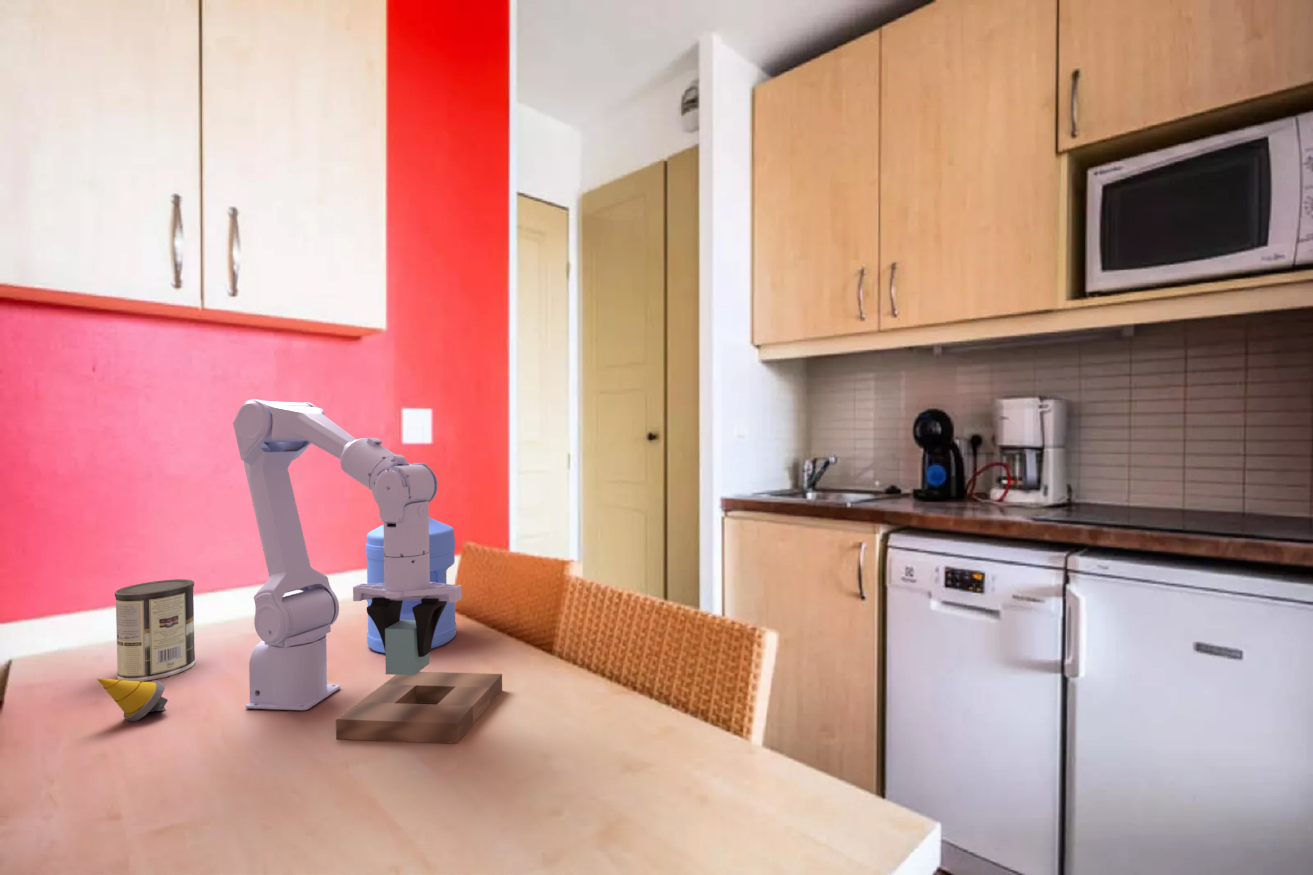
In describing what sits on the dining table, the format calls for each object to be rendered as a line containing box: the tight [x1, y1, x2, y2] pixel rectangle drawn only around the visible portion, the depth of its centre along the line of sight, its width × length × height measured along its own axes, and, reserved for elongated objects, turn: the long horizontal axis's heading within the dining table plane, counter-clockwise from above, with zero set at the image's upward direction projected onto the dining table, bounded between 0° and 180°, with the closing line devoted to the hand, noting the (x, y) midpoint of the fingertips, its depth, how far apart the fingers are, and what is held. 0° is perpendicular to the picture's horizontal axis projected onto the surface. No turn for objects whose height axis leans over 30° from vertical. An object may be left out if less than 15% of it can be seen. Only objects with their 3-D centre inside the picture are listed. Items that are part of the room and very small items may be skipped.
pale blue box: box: [384, 620, 430, 676], centre depth 83 cm, size 4×4×6 cm
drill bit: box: [96, 678, 169, 722], centre depth 84 cm, size 5×5×10 cm
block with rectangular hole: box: [335, 671, 503, 744], centre depth 85 cm, size 16×16×2 cm
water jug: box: [365, 517, 457, 654], centre depth 116 cm, size 16×16×28 cm
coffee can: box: [114, 578, 196, 682], centre depth 102 cm, size 10×10×14 cm
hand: (408, 653), depth 83 cm, fingers closed on pale blue box, 4 cm apart
